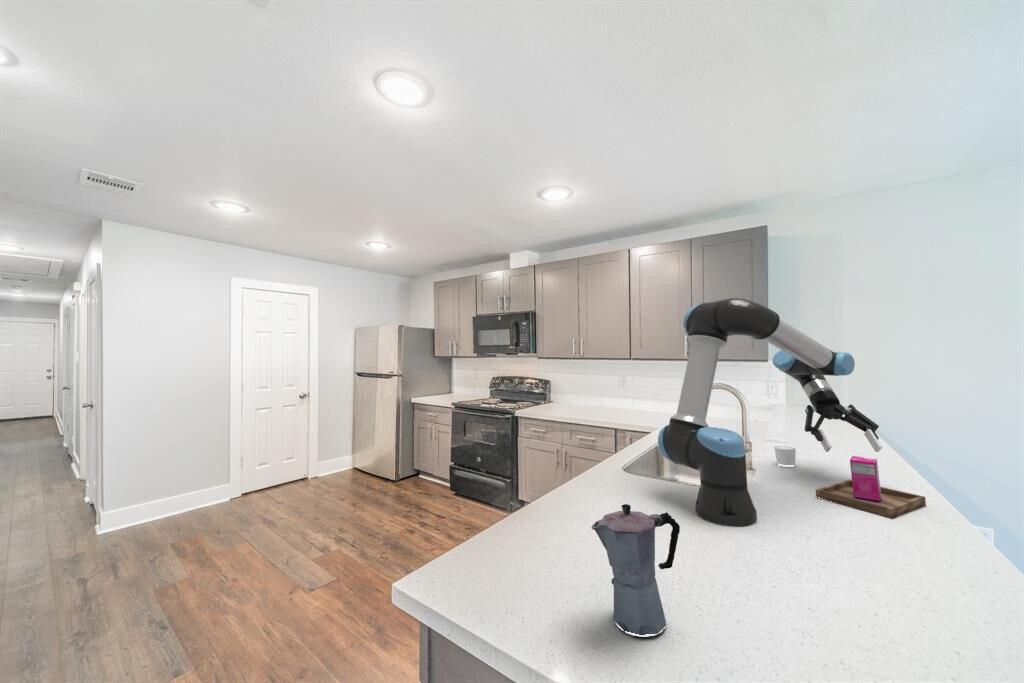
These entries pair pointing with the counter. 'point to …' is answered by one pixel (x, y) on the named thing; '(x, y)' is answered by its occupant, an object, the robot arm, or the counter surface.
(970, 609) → the counter surface
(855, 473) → the supplement box
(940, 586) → the counter surface
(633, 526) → the moka pot
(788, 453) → the shot glass
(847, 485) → the walnut tray
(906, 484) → the counter surface
